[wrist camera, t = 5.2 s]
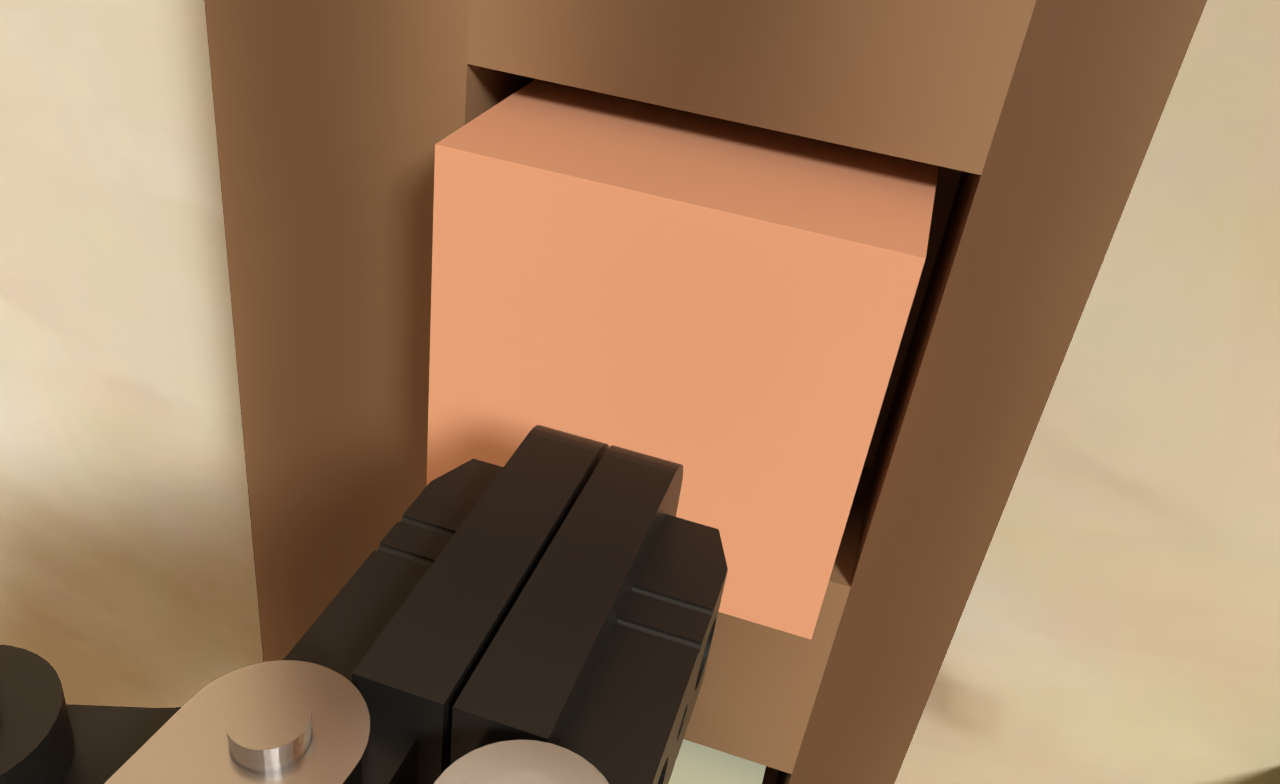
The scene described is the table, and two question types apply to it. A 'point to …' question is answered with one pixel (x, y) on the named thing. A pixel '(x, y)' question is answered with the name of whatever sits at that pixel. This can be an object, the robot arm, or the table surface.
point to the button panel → (731, 90)
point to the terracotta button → (677, 313)
